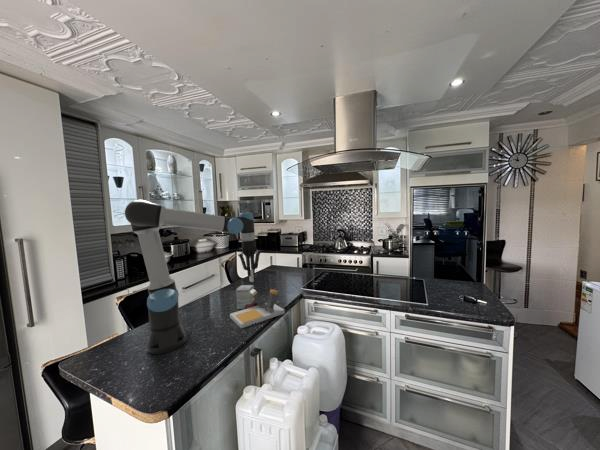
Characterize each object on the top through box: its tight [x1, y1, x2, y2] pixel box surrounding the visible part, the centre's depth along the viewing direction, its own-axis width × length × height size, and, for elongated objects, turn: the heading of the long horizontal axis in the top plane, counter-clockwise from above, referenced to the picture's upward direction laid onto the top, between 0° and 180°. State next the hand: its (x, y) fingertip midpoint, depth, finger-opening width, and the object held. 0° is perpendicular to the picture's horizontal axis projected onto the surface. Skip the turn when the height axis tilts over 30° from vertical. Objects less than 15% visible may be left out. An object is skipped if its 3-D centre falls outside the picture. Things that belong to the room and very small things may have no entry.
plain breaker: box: [250, 288, 265, 306], centre depth 139 cm, size 3×4×11 cm
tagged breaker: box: [266, 288, 278, 310], centre depth 134 cm, size 3×4×11 cm, turn 35°
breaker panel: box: [229, 302, 286, 329], centre depth 133 cm, size 25×16×4 cm, turn 125°
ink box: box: [235, 284, 256, 310], centre depth 146 cm, size 9×9×12 cm
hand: (251, 281), depth 139 cm, fingers closed
